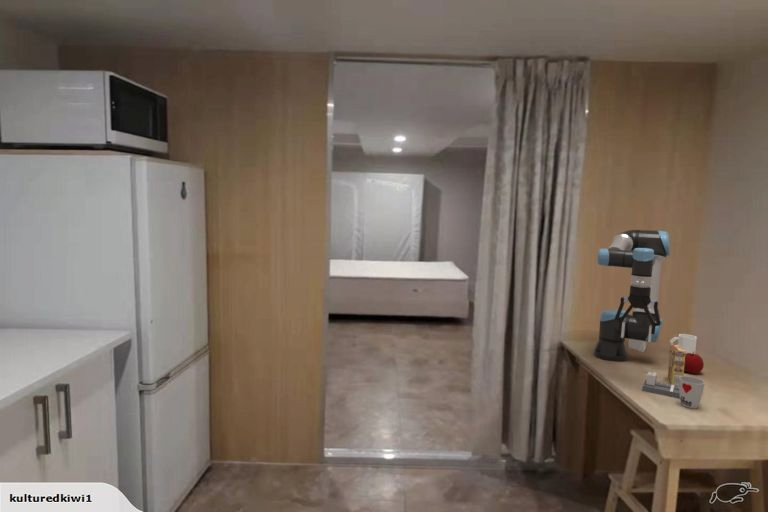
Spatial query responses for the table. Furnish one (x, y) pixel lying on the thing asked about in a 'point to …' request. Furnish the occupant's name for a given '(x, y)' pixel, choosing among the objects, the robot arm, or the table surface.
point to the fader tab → (651, 378)
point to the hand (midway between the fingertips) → (635, 339)
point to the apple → (693, 363)
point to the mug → (686, 342)
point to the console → (662, 389)
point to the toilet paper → (637, 344)
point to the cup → (690, 391)
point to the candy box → (676, 364)
